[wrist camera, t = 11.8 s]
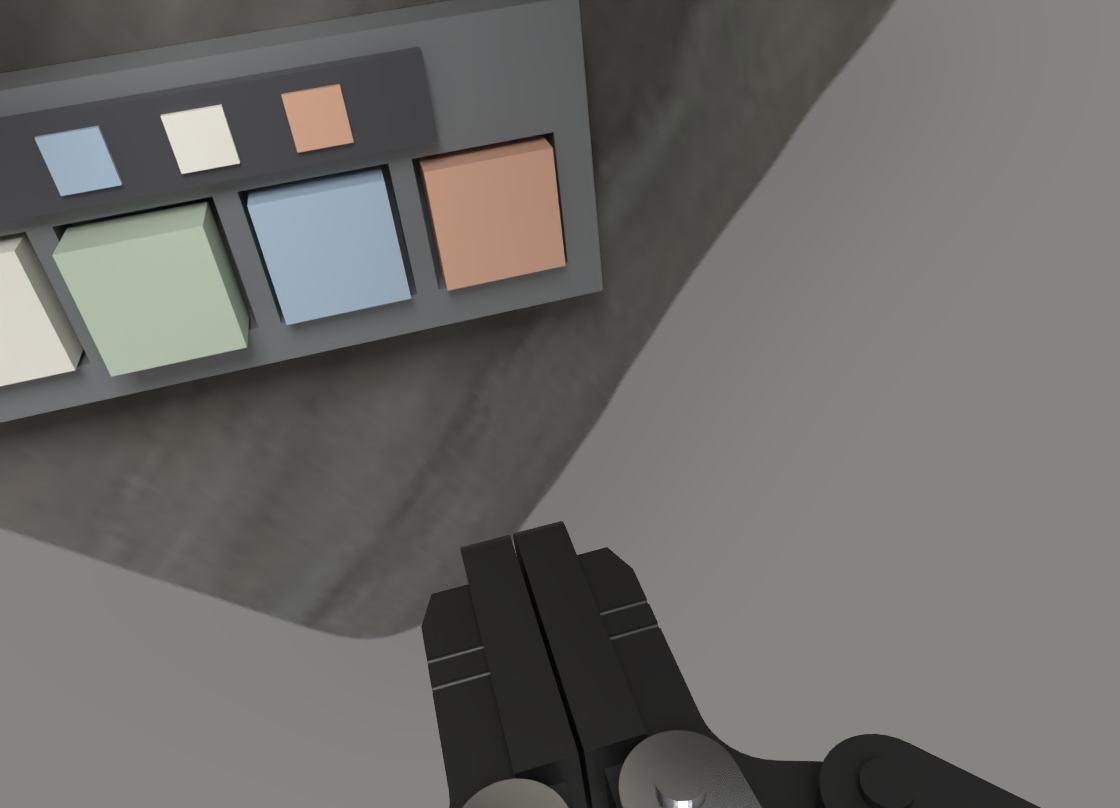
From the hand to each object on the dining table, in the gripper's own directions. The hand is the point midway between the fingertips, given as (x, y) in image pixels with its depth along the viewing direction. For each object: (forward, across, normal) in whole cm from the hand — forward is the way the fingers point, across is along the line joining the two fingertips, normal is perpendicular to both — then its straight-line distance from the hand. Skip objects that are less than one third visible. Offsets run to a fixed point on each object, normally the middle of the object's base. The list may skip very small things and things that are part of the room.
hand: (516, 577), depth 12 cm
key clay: (+26, -4, +5) cm, 26 cm away
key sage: (+24, +9, +5) cm, 27 cm away
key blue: (+26, +3, +4) cm, 26 cm away
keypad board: (+27, +6, +3) cm, 28 cm away
